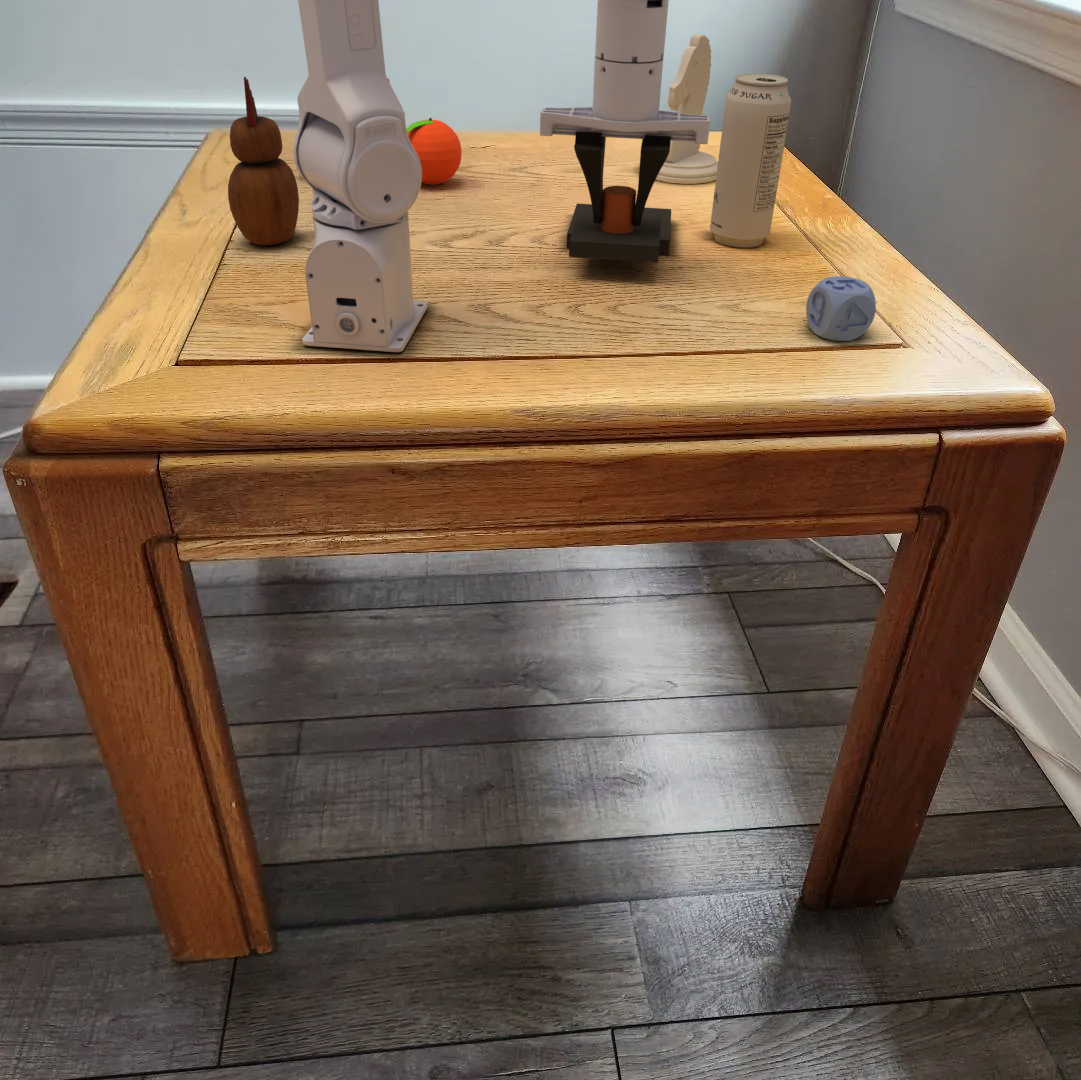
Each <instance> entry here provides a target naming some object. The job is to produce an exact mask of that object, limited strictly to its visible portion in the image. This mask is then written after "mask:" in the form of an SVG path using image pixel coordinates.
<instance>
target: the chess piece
mask: <svg viewBox="0 0 1081 1080" xmlns="http://www.w3.org/2000/svg"><path fill="white" fill-rule="evenodd" d="M711 67H712V49H711V45H710V38H708V36H706V35H705V34H699V33H695V34H692V35H691V36H690V41H689V45H687V46H686V47H685V49H684V50H683V53H682V56H681V59H680V62H679V66H678V69H677V73H676V76H675V78H674V79H673V82H672V83H671V85H670V86H669V91H668V92H669V93H668V98H667V99H668V100H667V105H668V108H669V111H672V112H676V113H684V114H692V115H703V111H704V106H705V103H706V99H707V93H708V90H709V85H710V78H711ZM700 148H701V144H696V143H695V142H689V141H671V142H670V152H669V155H668V157H667V159H666V161H665V163H664V164H663V166H662V168H661V170H660V172H659V174H658V176H657V178H656V180H655V181H659V182H664V183H670V184H671V183H672V184H679V185H680V184H681V185H682V184H683V185H693V184H694V185H695V184H697V185H698V184H705V183H706V184H707V183H711V182H713V181H716V175H717V167H718V161H717V160H718V159H717V157H716V156H714V155H712V154H710V153H708V152H704V151H700Z"/></svg>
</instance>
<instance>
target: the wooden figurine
mask: <svg viewBox="0 0 1081 1080" xmlns="http://www.w3.org/2000/svg"><path fill="white" fill-rule="evenodd" d="M243 86H244V99H245V111H246V116H241V117H239V118H236V119H234V121H232V124H231V125H230V131H229V144H230V149H231V152H232V154H233V156H234V157H235V158H236V159H237V160H238V161H239V162H238V163H237V164H235V166H234V168H233V169H232V171H231V173H230V175H229V179H228V184H227V199H228V206H229V210H230V213H231V215H232V217H233V220H234V222H235V224H236V226H237V228H238V230H239V232H240V233H241V234H242V237H243V238H245V240H247V241H248V242H250V243H252V244H254V245H258V246H259V245H260V246H265V247H267V246H275V245H280V244H282V243H285V242H287V241H289V240H290V239H292V236H293V235H294V234H295V233H296V232H295V231H296V227H297V225H298V224H297V223H298V217H299V211H300V210H299V209H300V207H299V206H300V195H299V187H298V184H297V180H296V179H297V178H296V176H295V174H294V171H293V170H292V168H291V167H290V165H289V164H288V163H287V162H286V161H285V160H283V159H282V158H280V156H281V154H282V153H283V140H282V134H281V129H280V128H279V125H278V123H276V121H275V120H274V119H272V118H269V117H267V116H261V115H258V110H257V106H256V102H255V98H254V96H253V93H252V89H251V87H250V82H249V79H248V78H247V76H243Z"/></svg>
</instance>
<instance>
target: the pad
mask: <svg viewBox="0 0 1081 1080" xmlns="http://www.w3.org/2000/svg"><path fill="white" fill-rule="evenodd" d="M636 198H637V190H636V189H635V188H633V187H630V186H625V185H610V186H606V187H603V199H602V220H601V224H597V223H593V214H578V215H577V218H576V222H575V225H574V228H573V231H572V235H571V238H570V243H569V249H568V257H569V258H576V259H577V258H578V259H592V260H593V259H595V260H607V261H608V260H611V261H626V262H638V263H639V262H641V263H657V264H658V263H659V258H660V254H659V247H660V233H661V218H644V217H642V220H641V226H633V219H634V211H635V204H636Z"/></svg>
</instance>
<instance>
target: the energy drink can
mask: <svg viewBox="0 0 1081 1080" xmlns="http://www.w3.org/2000/svg"><path fill="white" fill-rule="evenodd" d="M734 80H735V81H734V83H733V86H732V87H731V89H730V90H729V91H728V93H727V94H726V97H725V104H724V105H725V106H724V114H723V121H722V130H721V136H720V145H719V152H718V159H717V160H718V161H717V162H718V167H717V175H716V180H715V183H714V184H715V185H714V193H713V200H712V208H711V216H710V223H709V230H710V231H711V232H712V233H713V234H714V236H713V239H714V240H715V241H716V242H717V243H719V244H721V245H724V246H726V247H727V246H728V247H732V248H742V249H743V248H755V247H758V246H761V245H762V244H763V243H764V240H765V238H767V237H768V236H769V235H770V234H771V229H772V222H773V217H774V211H775V205H776V198H777V194H778V193H777V192H778V186H779V181H780V174H781V168H782V161H783V155H784V148H785V144H786V137H787V131H788V125H789V118H790V113H791V107H792V97H791V95H790V92H789V89H788V83H789V79H788V78H786V77H784V76H782V75H777V74H771V73H741V74H738V75H735V78H734Z"/></svg>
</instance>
